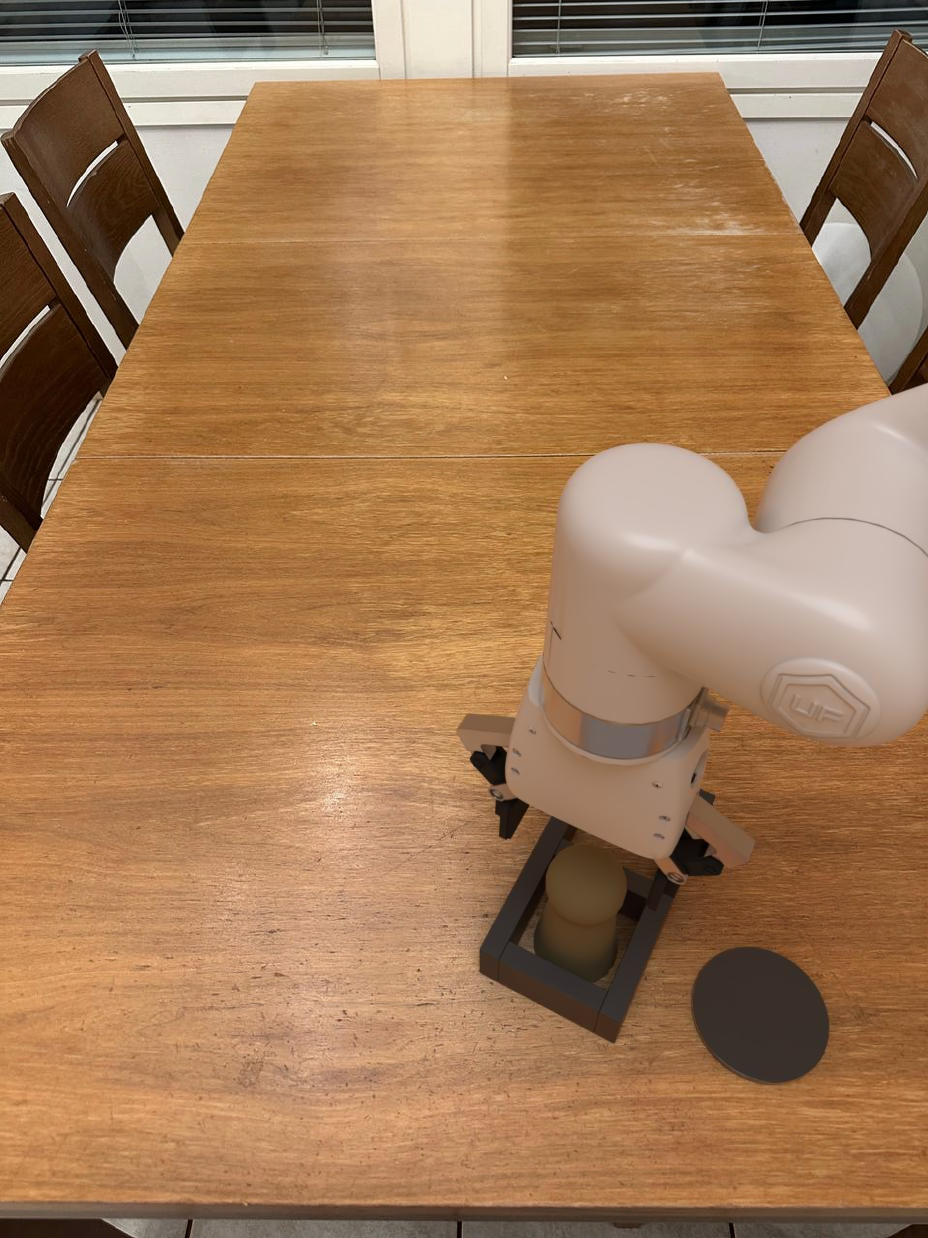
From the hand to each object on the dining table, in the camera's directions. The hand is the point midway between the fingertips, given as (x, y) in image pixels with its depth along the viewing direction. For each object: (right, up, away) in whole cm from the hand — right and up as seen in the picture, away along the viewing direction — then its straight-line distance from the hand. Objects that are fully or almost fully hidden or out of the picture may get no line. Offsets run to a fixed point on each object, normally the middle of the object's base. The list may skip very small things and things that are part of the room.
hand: (585, 854), depth 58 cm
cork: (0, -9, +10) cm, 13 cm away
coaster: (+13, -12, +6) cm, 19 cm away
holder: (+3, -6, +12) cm, 14 cm away
